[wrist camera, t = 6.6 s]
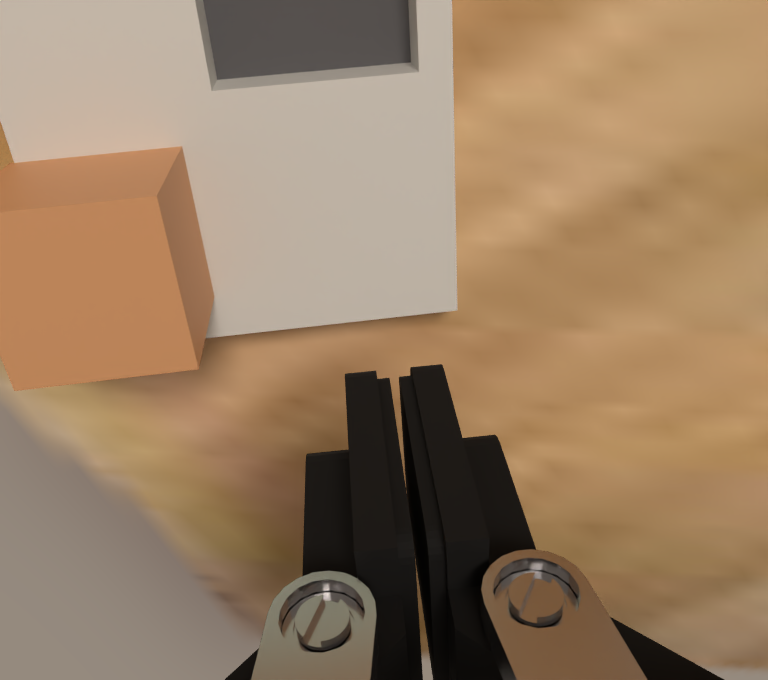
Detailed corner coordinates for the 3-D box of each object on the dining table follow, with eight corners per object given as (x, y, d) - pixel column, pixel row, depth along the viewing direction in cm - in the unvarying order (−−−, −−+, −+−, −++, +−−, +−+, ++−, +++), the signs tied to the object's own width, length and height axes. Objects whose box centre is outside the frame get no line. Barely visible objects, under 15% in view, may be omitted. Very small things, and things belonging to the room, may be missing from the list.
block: (182, 146, 21) (156, 195, 17) (214, 296, 24) (198, 369, 20) (9, 163, 21) (-56, 217, 17) (60, 313, 23) (14, 390, 20)
